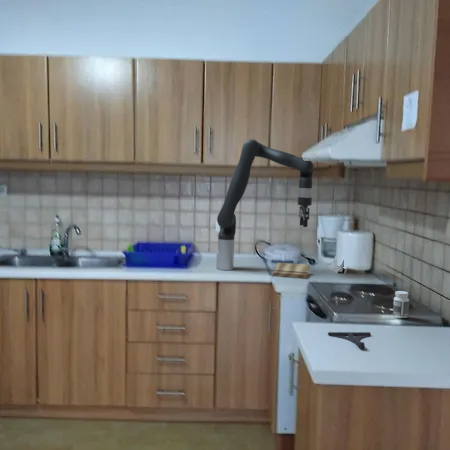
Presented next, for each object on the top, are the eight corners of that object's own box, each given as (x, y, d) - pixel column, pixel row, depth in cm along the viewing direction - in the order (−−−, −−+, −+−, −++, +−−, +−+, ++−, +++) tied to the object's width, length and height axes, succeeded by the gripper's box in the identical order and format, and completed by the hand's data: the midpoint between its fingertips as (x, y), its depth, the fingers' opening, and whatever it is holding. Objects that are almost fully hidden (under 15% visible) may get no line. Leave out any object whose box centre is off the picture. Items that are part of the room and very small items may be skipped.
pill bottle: (405, 315, 193) (406, 290, 191) (410, 319, 187) (412, 294, 186) (390, 314, 193) (392, 290, 192) (395, 319, 187) (397, 293, 186)
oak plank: (275, 273, 270) (275, 270, 269) (277, 265, 275) (277, 262, 274) (307, 275, 265) (307, 272, 264) (309, 267, 270) (309, 265, 269)
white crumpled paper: (328, 267, 290) (334, 252, 289) (335, 270, 290) (341, 254, 290) (337, 273, 273) (343, 256, 273) (344, 276, 274) (351, 259, 273)
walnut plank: (272, 276, 262) (272, 272, 261) (274, 273, 268) (274, 269, 268) (305, 278, 257) (306, 274, 256) (307, 276, 263) (307, 272, 263)
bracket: (340, 352, 152) (340, 343, 152) (327, 336, 167) (328, 328, 167) (385, 352, 153) (385, 344, 153) (368, 336, 168) (369, 328, 167)
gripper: (295, 195, 271) (294, 224, 273) (300, 197, 257) (299, 227, 259) (308, 196, 272) (307, 225, 273) (314, 197, 258) (313, 227, 259)
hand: (303, 226), depth 266 cm, fingers open, 8 cm apart
